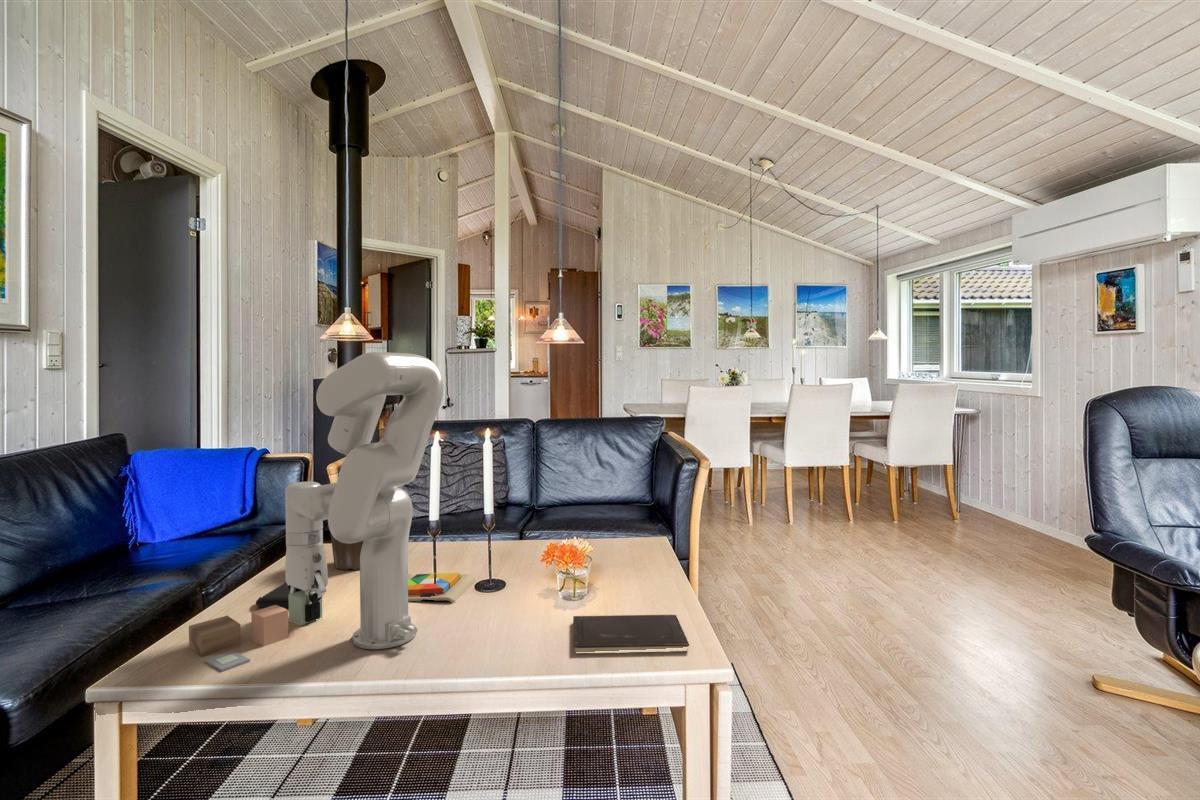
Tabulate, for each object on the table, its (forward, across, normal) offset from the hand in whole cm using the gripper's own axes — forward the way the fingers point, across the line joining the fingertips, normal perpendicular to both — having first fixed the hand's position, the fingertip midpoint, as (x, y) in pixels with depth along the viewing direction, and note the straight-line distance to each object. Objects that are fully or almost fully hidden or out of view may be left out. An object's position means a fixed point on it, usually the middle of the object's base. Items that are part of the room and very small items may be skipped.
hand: (305, 616), depth 137 cm
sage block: (+1, 0, 0) cm, 1 cm away
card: (+1, -8, +20) cm, 21 cm away
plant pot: (+1, +27, -31) cm, 41 cm away
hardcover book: (+1, -65, -33) cm, 73 cm away
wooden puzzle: (+1, -8, -29) cm, 30 cm away
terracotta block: (+1, -4, +10) cm, 11 cm away
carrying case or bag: (+1, +16, -4) cm, 16 cm away
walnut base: (+1, +2, +18) cm, 18 cm away
